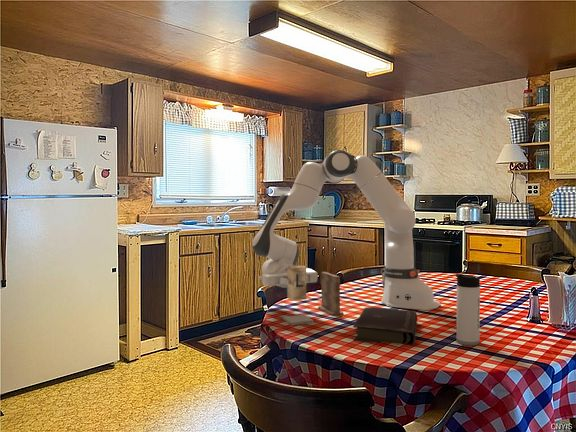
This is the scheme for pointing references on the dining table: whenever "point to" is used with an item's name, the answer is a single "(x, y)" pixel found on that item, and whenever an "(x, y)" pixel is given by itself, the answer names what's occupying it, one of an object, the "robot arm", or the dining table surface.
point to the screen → (330, 294)
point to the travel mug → (468, 310)
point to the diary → (386, 325)
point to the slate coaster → (297, 320)
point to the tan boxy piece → (296, 282)
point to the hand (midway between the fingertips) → (297, 281)
